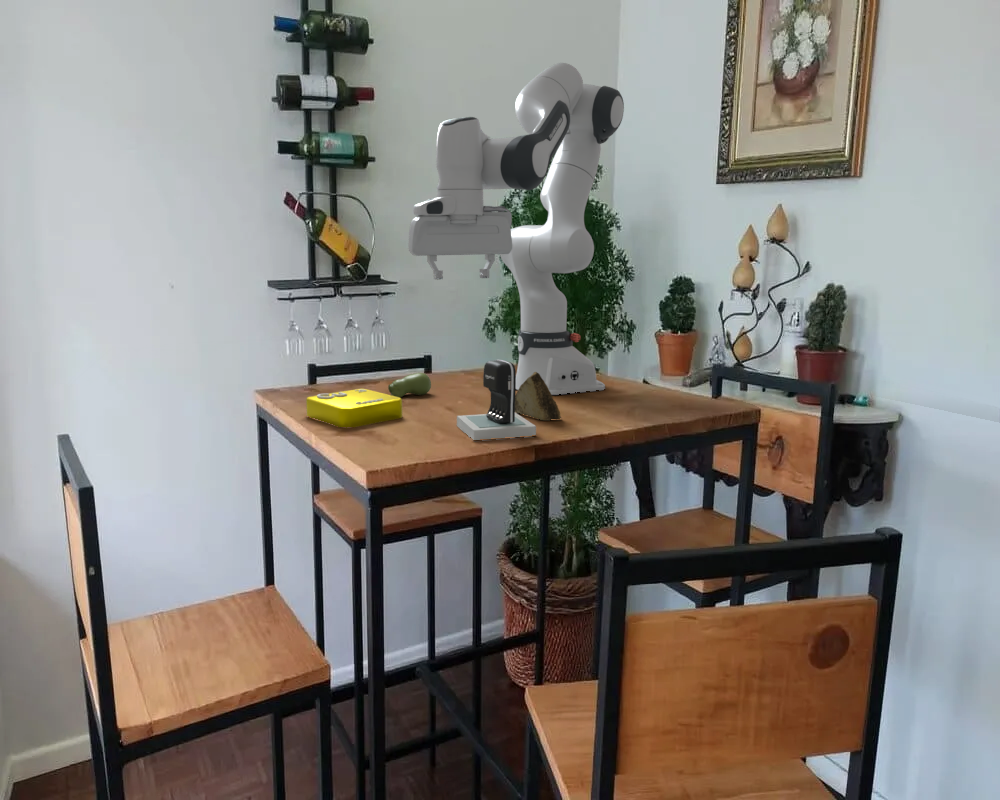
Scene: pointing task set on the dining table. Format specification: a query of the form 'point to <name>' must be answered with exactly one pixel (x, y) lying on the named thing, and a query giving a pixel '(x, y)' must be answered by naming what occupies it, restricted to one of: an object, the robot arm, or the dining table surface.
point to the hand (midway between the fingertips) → (461, 278)
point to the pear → (410, 385)
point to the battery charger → (500, 390)
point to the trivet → (494, 427)
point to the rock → (536, 399)
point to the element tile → (354, 407)
